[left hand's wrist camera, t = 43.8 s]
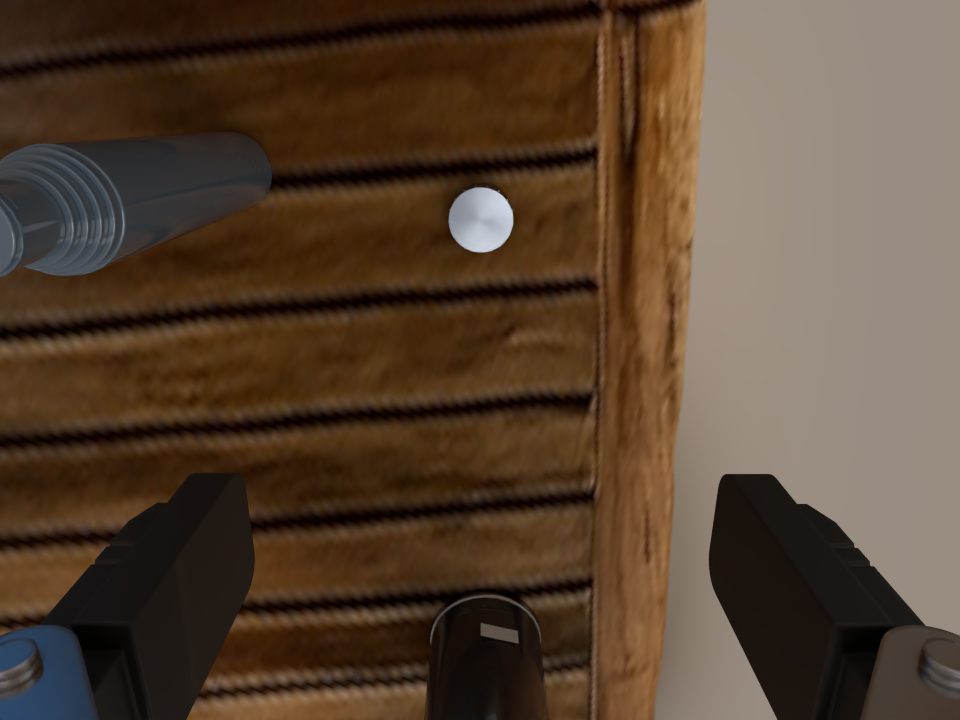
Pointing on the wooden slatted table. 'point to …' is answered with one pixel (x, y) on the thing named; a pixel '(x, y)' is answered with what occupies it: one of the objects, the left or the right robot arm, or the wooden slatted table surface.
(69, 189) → the bottle
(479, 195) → the cap
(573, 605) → the wooden slatted table surface
